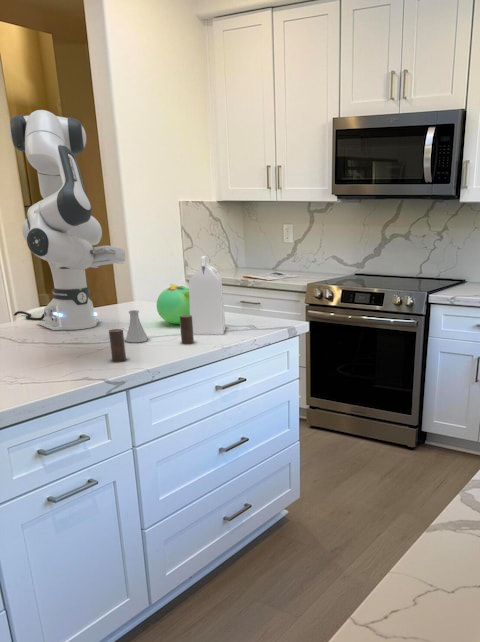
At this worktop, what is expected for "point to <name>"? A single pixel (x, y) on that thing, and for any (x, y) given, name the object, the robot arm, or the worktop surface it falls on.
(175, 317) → the toy bird
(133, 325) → the flask
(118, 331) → the walnut peg front
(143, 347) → the worktop surface
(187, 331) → the walnut peg back
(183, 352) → the worktop surface
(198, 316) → the milk
